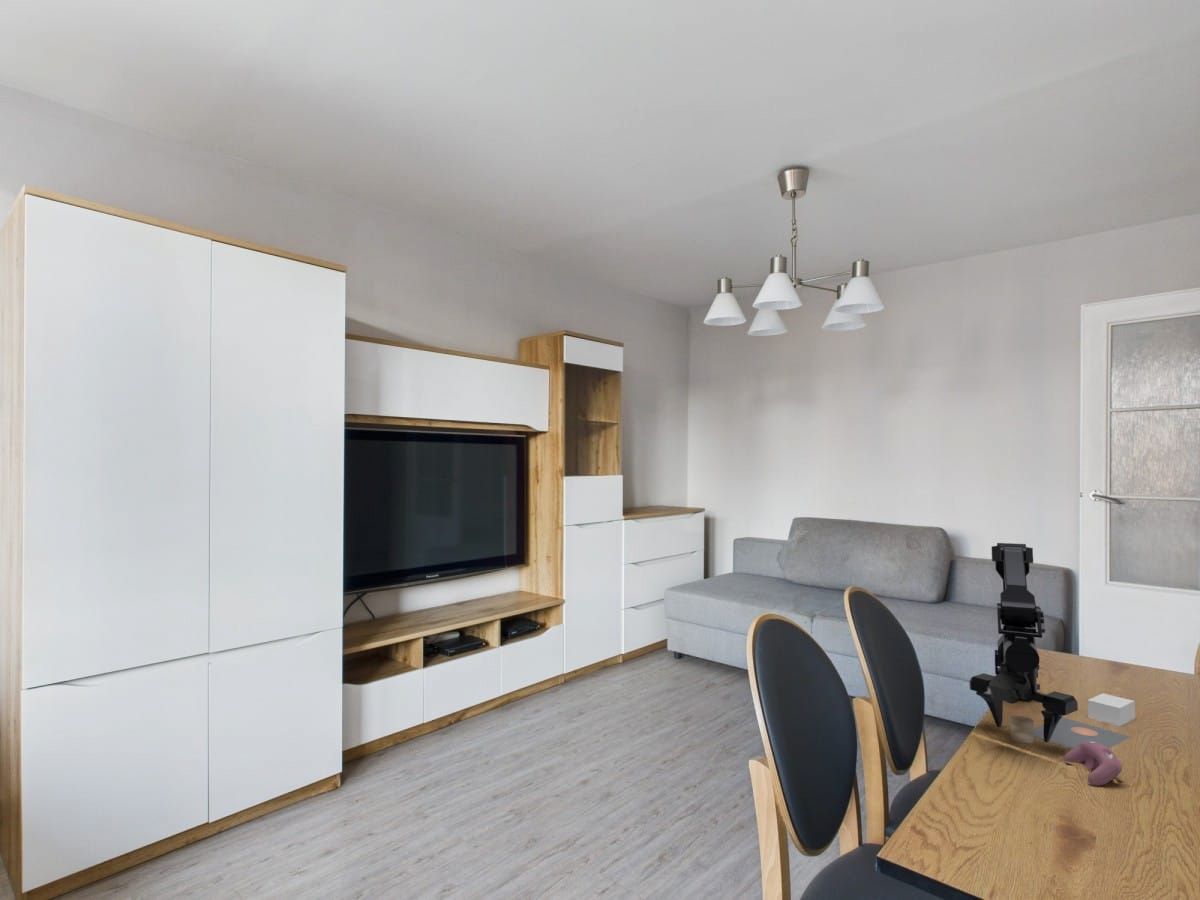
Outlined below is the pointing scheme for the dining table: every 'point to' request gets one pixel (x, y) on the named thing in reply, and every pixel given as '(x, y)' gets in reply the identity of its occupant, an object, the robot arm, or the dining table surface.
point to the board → (1080, 734)
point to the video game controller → (1096, 761)
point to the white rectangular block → (1111, 709)
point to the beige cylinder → (1022, 729)
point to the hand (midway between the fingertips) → (1022, 734)
